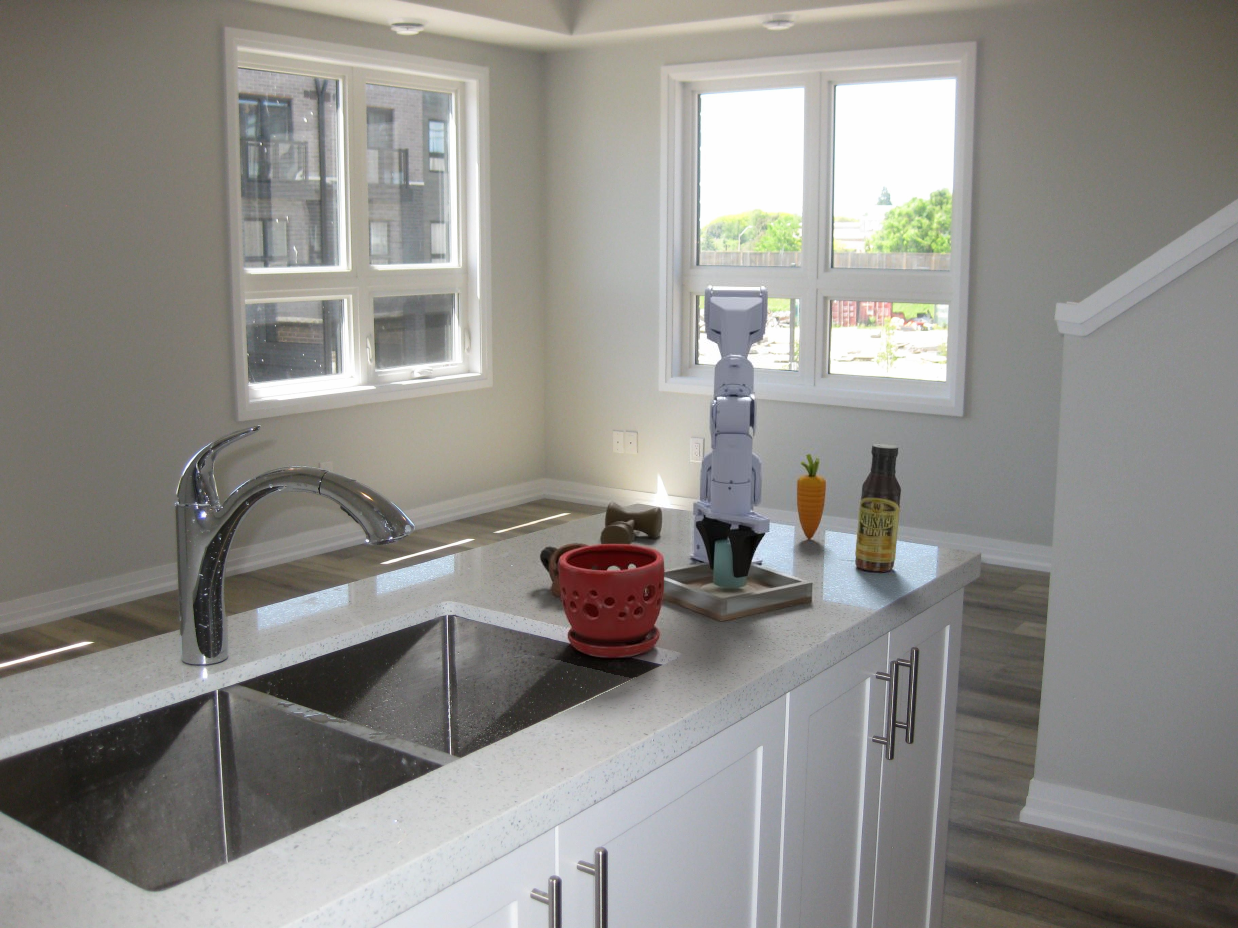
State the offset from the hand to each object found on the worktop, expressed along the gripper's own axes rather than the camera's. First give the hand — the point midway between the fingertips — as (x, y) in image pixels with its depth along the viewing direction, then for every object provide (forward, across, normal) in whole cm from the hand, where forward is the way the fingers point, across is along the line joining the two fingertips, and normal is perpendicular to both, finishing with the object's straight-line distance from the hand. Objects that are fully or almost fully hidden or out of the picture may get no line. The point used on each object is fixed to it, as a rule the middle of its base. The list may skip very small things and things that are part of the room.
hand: (728, 572), depth 166 cm
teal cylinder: (+2, 0, 0) cm, 2 cm away
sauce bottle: (+4, +1, +30) cm, 30 cm away
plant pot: (+4, +9, -27) cm, 29 cm away
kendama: (+4, -36, +8) cm, 37 cm away
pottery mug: (+4, -15, -17) cm, 23 cm away
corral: (+4, 0, 0) cm, 4 cm away
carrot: (+4, -19, +35) cm, 40 cm away
